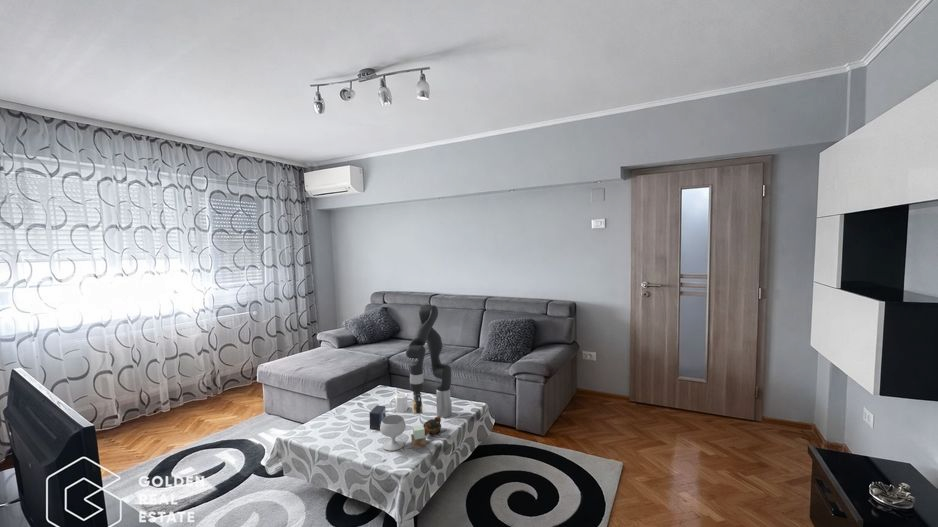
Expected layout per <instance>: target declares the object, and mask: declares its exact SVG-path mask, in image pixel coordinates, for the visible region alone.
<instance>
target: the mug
mask: <svg viewBox="0 0 938 527" xmlns="http://www.w3.org/2000/svg"><path fill="white" fill-rule="evenodd" d="M393 401H394V405H395V406H394V405H393ZM389 405H390V407H391V409H393V408H394V410H395V411H396V412H397V413H404V412H407V411H408V409H409V408H408V394H407V393H406V392H400V393H396V394H395V395H394V397H392V398H391V399H390V400H389Z"/></svg>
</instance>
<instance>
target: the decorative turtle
mask: <svg viewBox="0 0 938 527" xmlns="http://www.w3.org/2000/svg"><path fill="white" fill-rule="evenodd" d="M441 418H442V417H440V416H437V415H436V416H435V417H434V419H432V418H431V419H429V420H427V421H425V422H424V423H423V424H422V425H423V427H424V429H425V437H426V436H427V435H429V434H430V433H431V435H433V436H436V434H437V433H440V431H441V428H442V424H441V421H442V420H441Z"/></svg>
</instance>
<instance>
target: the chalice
mask: <svg viewBox="0 0 938 527" xmlns="http://www.w3.org/2000/svg"><path fill="white" fill-rule="evenodd" d="M379 430H380V432H381V434H382V435H383V436H385V437H388V438H390V439H388V440H386V441H385V442H384V443H383V444H382V448H383V450H385V451H390V452H394V451H398V450H400V449H402V448H403V447H404V446H405V444H406V443H405V441H404V440H402V439H400V438H396V437H398V436H400V435H402V434H403V433H404V432H405V430H406V420H405V418H404V416H402V415H400V414H390V415H386V417H385V418H383V420H382V422H381V425H380V429H379Z"/></svg>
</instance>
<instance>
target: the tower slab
mask: <svg viewBox="0 0 938 527" xmlns="http://www.w3.org/2000/svg"><path fill="white" fill-rule="evenodd" d="M410 438H411V445H412V449H413V450H415V449H420V448H425V447H427V438H426V436H425V438H422V439H416V440H415V438H414V436H413V433H412V434H410Z"/></svg>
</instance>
